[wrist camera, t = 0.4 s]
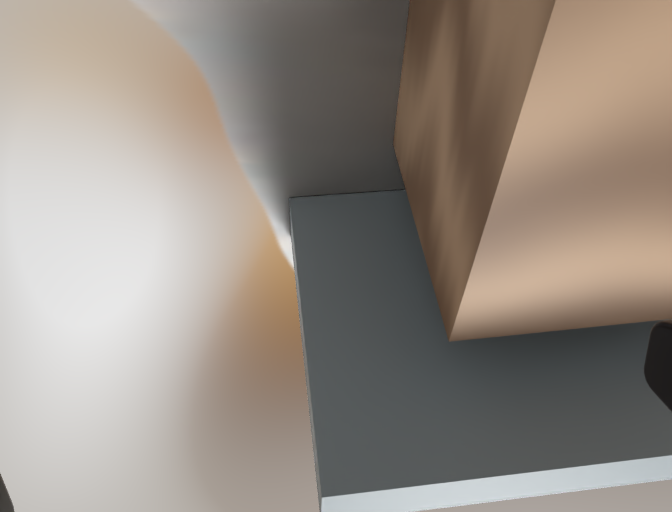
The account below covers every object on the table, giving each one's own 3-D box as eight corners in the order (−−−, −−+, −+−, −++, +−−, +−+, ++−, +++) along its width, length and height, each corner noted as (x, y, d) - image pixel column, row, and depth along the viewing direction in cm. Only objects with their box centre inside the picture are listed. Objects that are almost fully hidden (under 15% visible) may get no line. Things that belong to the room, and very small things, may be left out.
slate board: (289, 198, 25) (321, 497, 17) (740, 166, 27) (947, 421, 19) (291, 238, 26) (320, 523, 19) (711, 205, 28) (889, 451, 21)
